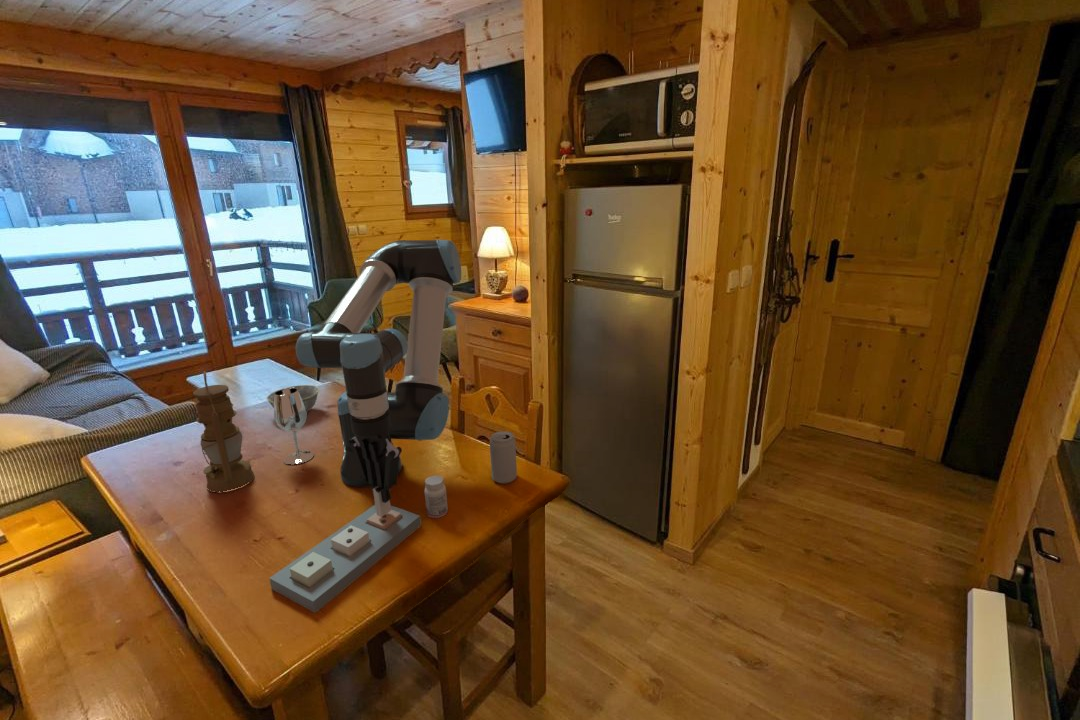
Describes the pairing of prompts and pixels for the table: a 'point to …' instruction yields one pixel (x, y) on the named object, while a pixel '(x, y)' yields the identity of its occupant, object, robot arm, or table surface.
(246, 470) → the lantern
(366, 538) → the key two
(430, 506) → the pill bottle
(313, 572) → the key one
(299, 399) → the wineglass
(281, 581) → the key board
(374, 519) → the key three
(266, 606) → the table surface
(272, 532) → the table surface
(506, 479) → the beverage can
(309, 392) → the bowl
